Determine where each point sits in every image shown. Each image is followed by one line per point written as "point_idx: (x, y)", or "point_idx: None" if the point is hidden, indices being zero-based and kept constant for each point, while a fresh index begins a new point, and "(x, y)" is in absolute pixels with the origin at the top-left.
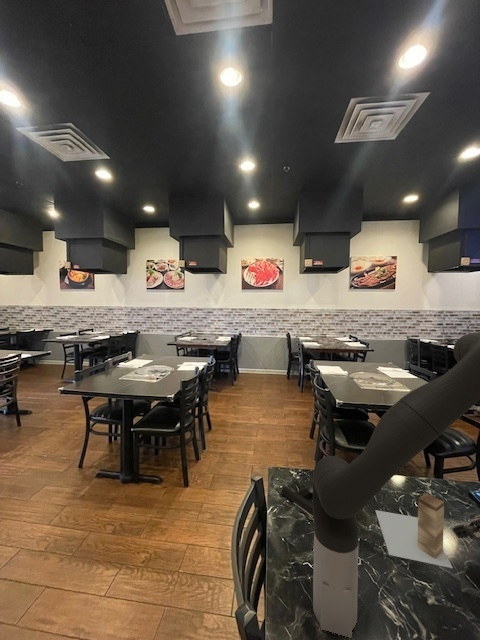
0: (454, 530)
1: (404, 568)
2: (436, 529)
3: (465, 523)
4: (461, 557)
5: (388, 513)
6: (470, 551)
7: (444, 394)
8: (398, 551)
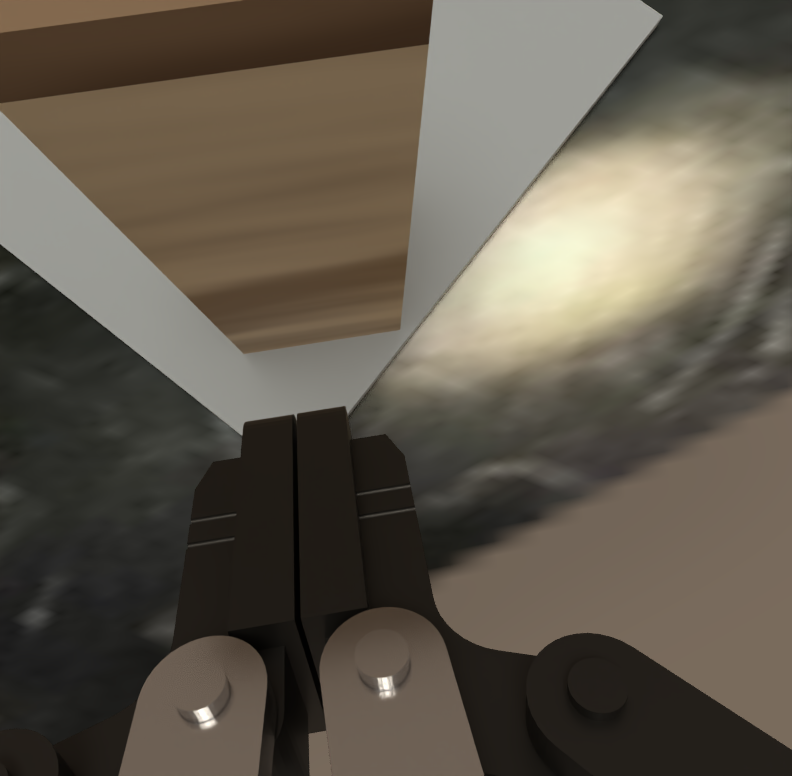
0: (224, 460)
1: None
2: (169, 260)
3: (356, 587)
4: (519, 426)
5: None
6: (674, 418)
7: None
8: (9, 171)
